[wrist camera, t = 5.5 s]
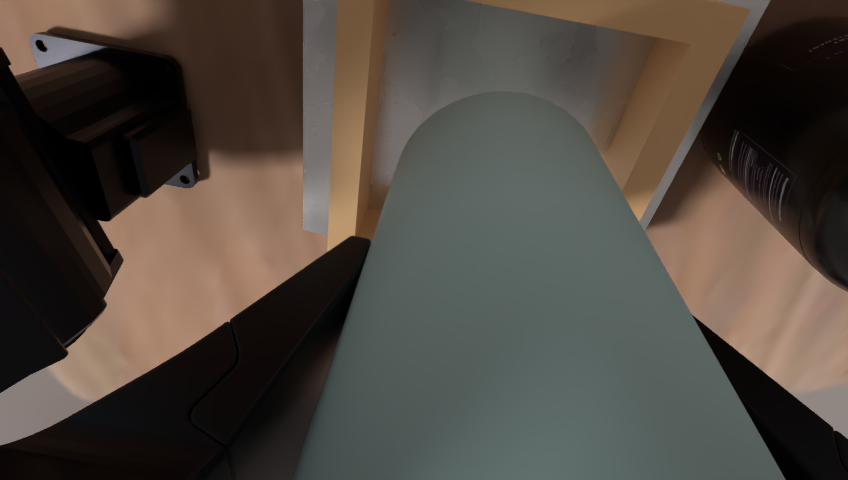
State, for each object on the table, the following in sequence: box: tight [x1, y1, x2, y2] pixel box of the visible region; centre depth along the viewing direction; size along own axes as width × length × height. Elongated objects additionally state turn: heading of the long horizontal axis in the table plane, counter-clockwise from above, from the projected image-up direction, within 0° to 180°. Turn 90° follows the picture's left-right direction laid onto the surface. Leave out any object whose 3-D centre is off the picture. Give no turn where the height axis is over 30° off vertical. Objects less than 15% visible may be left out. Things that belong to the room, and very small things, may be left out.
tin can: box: [292, 91, 786, 480], centre depth 8 cm, size 6×6×10 cm
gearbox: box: [303, 0, 770, 252], centre depth 17 cm, size 14×13×6 cm
